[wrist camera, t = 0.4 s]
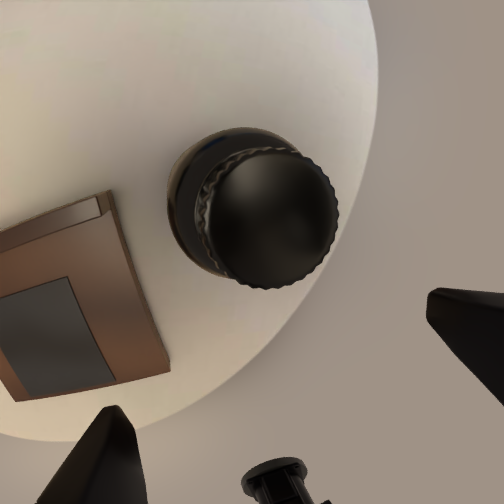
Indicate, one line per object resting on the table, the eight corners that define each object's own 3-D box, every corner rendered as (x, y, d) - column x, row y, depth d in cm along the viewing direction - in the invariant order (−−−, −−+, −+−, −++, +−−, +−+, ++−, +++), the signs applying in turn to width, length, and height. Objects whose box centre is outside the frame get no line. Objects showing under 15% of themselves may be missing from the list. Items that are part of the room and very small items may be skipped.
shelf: (169, 360, 23) (173, 396, 19) (19, 392, 20) (6, 423, 16) (110, 189, 19) (96, 195, 15) (-48, 254, 16) (-78, 271, 12)
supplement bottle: (149, 167, 19) (127, 166, 8) (241, 125, 20) (326, 85, 9) (193, 255, 22) (226, 348, 11) (278, 212, 23) (382, 259, 11)
